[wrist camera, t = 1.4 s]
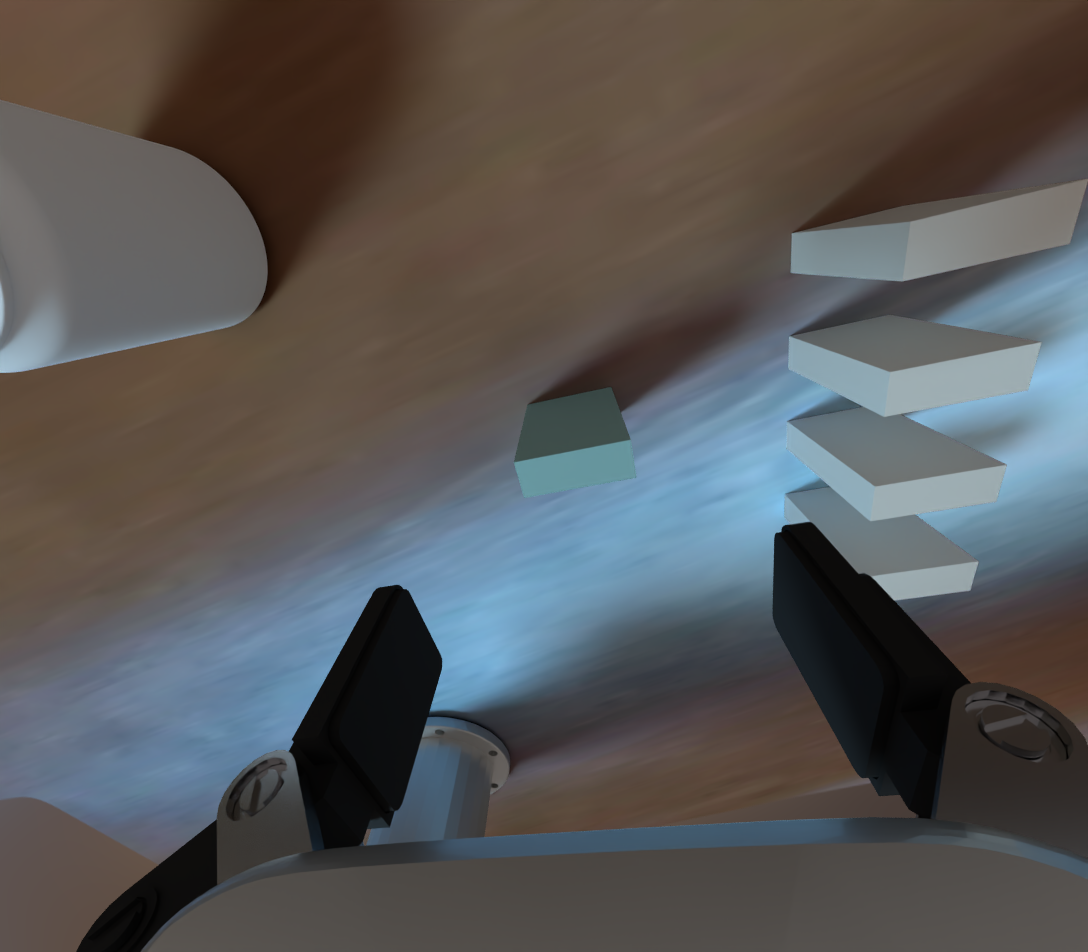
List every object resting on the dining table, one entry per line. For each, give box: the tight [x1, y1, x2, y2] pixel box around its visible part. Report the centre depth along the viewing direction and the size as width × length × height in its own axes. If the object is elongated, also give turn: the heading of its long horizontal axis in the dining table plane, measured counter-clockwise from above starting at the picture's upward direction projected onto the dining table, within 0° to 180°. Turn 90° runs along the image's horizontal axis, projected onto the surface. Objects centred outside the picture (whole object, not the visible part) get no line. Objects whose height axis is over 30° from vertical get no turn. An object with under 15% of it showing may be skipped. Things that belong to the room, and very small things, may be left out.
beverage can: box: [0, 100, 268, 373], centre depth 17 cm, size 8×8×12 cm
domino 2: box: [791, 179, 1088, 281], centre depth 17 cm, size 2×5×8 cm, turn 103°
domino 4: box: [786, 407, 1007, 521], centre depth 22 cm, size 2×5×8 cm, turn 103°
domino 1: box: [514, 387, 636, 498], centre depth 22 cm, size 2×5×8 cm, turn 103°
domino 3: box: [788, 315, 1042, 417], centre depth 20 cm, size 2×5×8 cm, turn 103°
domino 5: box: [784, 487, 979, 601], centre depth 24 cm, size 2×5×8 cm, turn 103°
